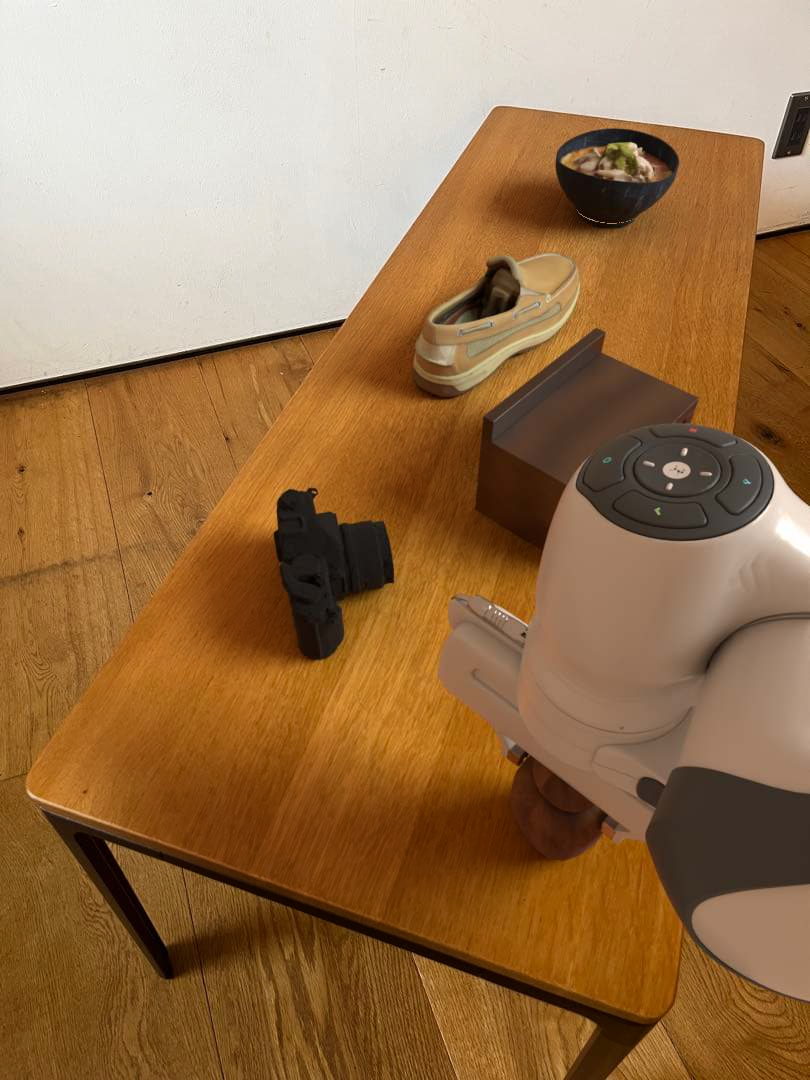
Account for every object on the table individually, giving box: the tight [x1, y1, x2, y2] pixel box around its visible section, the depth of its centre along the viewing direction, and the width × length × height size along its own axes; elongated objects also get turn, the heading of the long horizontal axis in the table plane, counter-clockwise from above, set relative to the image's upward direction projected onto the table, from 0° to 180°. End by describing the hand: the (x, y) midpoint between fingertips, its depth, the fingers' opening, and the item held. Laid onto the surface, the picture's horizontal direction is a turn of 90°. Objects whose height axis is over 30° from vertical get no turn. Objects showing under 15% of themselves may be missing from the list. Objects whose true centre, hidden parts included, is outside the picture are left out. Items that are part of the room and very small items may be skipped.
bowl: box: [554, 127, 680, 229], centre depth 113 cm, size 17×17×10 cm
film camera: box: [273, 487, 395, 661], centre depth 68 cm, size 15×10×9 cm, turn 12°
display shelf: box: [474, 327, 700, 552], centre depth 75 cm, size 12×18×12 cm, turn 138°
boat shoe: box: [412, 251, 581, 398], centre depth 92 cm, size 10×29×11 cm, turn 144°
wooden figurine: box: [508, 754, 608, 862], centre depth 51 cm, size 7×6×15 cm
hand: (564, 790), depth 52 cm, fingers open, 6 cm apart
